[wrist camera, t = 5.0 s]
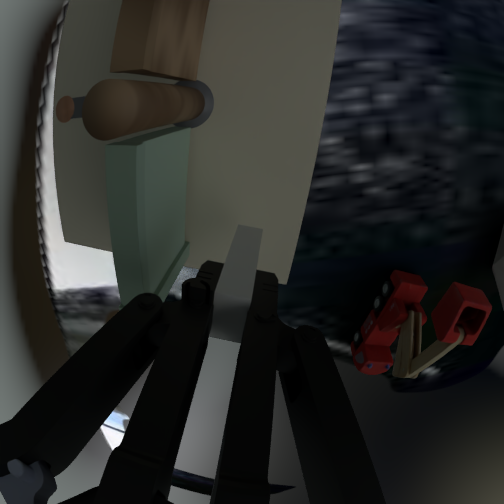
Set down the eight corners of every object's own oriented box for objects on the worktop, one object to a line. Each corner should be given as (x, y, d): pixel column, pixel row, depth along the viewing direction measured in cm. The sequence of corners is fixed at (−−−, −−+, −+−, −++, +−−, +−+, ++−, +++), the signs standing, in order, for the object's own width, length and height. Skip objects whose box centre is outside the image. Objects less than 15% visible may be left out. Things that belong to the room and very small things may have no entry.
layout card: (82, -32, 9) (79, -33, 9) (345, -49, 9) (346, -51, 8) (66, 240, 23) (64, 241, 23) (286, 282, 23) (286, 284, 23)
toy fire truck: (346, 344, 26) (358, 427, 18) (409, 227, 19) (469, 305, 11) (373, 348, 26) (390, 426, 18) (438, 237, 19) (498, 311, 11)
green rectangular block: (172, 125, 17) (100, 145, 10) (197, 127, 17) (136, 146, 10) (168, 251, 22) (122, 321, 15) (189, 255, 22) (149, 329, 15)
